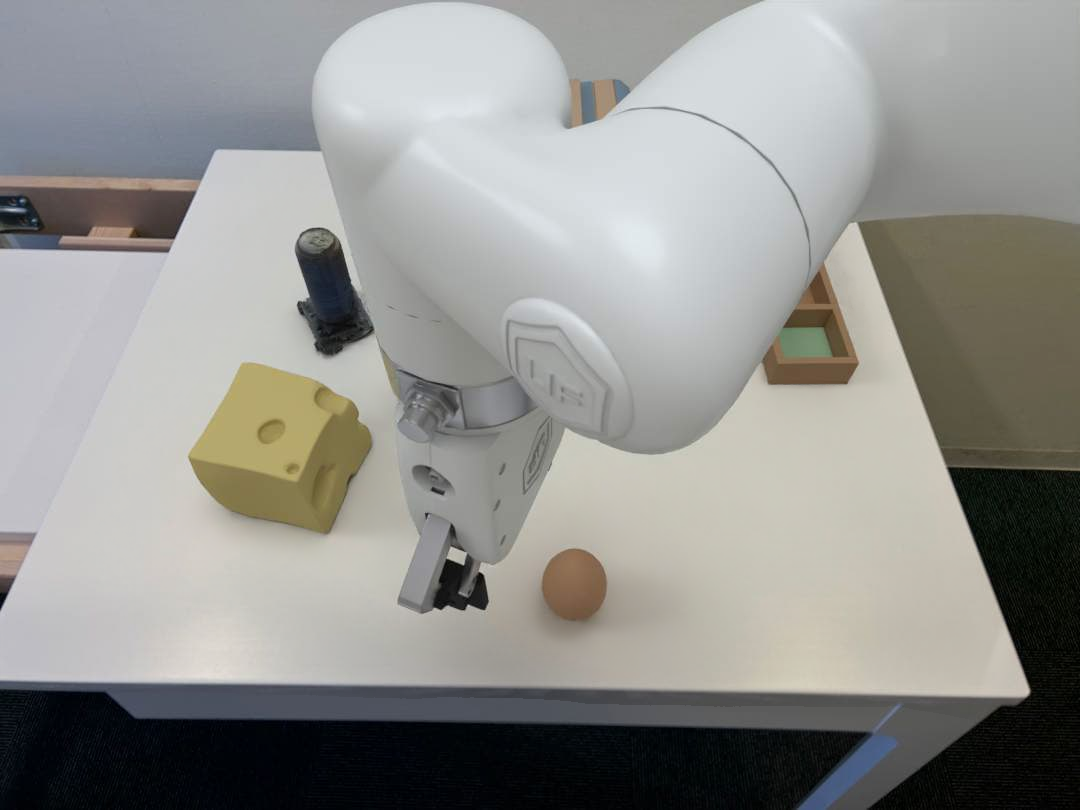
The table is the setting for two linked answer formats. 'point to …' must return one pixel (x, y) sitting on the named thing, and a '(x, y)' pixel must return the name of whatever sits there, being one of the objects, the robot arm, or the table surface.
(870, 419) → the table surface
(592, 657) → the table surface
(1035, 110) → the robot arm
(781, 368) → the compartment tray
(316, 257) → the dark blue cylinder
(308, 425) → the cheese
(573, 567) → the egg
